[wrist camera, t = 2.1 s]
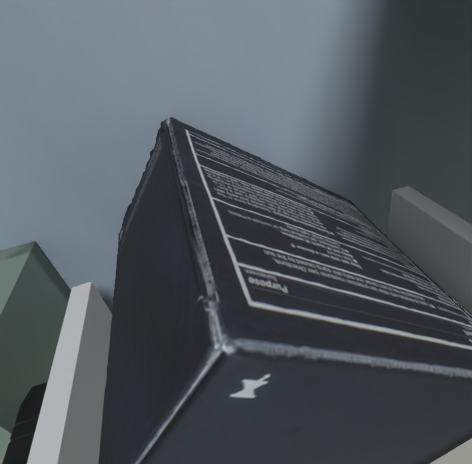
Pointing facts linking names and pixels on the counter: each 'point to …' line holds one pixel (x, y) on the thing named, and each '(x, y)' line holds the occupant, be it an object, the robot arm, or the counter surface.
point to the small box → (272, 324)
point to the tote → (26, 327)
